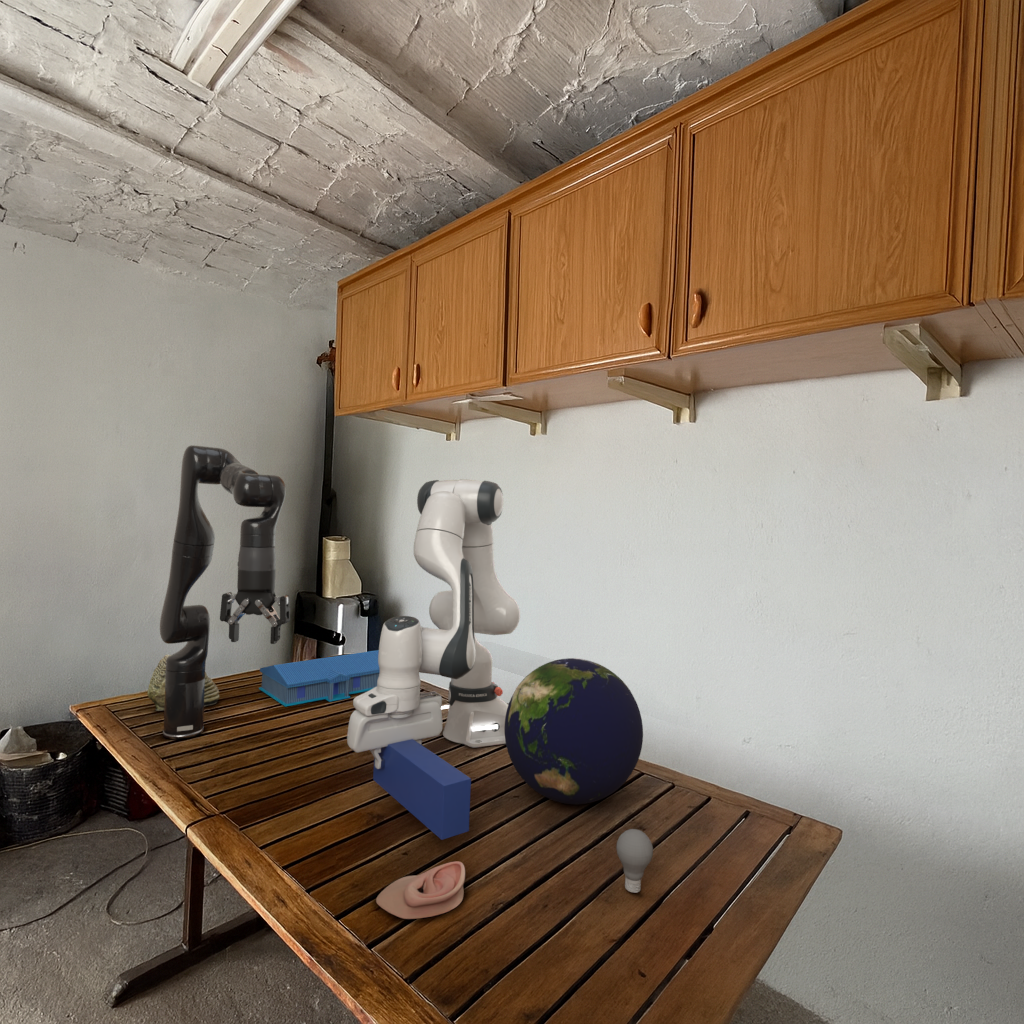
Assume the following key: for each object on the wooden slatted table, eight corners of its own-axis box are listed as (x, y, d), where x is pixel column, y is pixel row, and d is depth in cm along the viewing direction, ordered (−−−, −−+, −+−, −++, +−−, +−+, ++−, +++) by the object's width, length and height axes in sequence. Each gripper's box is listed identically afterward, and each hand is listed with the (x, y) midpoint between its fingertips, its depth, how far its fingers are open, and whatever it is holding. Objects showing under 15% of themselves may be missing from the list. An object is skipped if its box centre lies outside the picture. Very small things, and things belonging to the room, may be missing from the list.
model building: (289, 709, 186) (291, 675, 185) (258, 688, 204) (259, 657, 204) (403, 687, 212) (405, 657, 212) (366, 670, 230) (368, 643, 230)
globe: (478, 811, 130) (485, 666, 129) (529, 759, 158) (535, 639, 157) (623, 847, 119) (630, 688, 118) (650, 784, 146) (656, 655, 146)
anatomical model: (368, 886, 97) (397, 847, 108) (367, 912, 97) (396, 870, 108) (451, 901, 94) (471, 859, 106) (450, 928, 94) (470, 883, 106)
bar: (469, 831, 113) (471, 778, 113) (441, 840, 110) (443, 785, 110) (397, 773, 135) (399, 729, 135) (373, 779, 132) (374, 734, 132)
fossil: (144, 707, 182) (145, 655, 182) (212, 696, 194) (213, 647, 194) (151, 716, 175) (153, 662, 175) (221, 703, 188) (223, 653, 188)
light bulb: (610, 879, 108) (613, 822, 108) (644, 879, 109) (647, 822, 109) (619, 902, 102) (622, 840, 102) (655, 901, 103) (658, 840, 103)
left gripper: (296, 567, 140) (293, 640, 140) (232, 564, 140) (229, 637, 140) (283, 570, 132) (280, 648, 132) (215, 567, 132) (212, 644, 133)
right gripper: (434, 686, 139) (431, 749, 139) (345, 700, 127) (342, 769, 127) (449, 694, 134) (446, 759, 134) (358, 709, 121) (355, 780, 122)
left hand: (254, 642), depth 136 cm, fingers open, 8 cm apart
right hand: (395, 764), depth 130 cm, fingers closed on bar, 5 cm apart
